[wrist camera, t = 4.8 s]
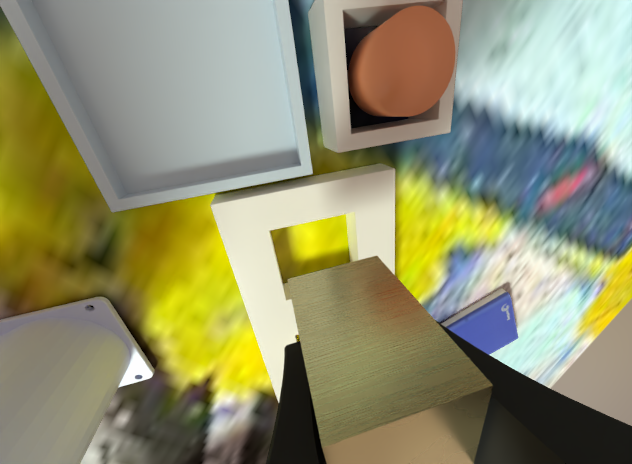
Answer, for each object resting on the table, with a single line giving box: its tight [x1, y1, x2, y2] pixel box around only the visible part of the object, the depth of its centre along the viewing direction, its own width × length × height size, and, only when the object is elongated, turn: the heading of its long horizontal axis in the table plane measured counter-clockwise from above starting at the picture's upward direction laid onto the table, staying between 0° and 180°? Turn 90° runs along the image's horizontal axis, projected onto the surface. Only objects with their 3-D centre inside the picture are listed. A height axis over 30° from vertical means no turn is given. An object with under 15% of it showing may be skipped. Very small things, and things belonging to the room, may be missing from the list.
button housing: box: [308, 0, 463, 153], centre depth 13 cm, size 7×7×3 cm
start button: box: [348, 6, 456, 117], centre depth 12 cm, size 4×4×3 cm
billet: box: [287, 255, 493, 464], centre depth 9 cm, size 4×4×6 cm
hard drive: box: [441, 288, 518, 355], centre depth 27 cm, size 2×8×12 cm
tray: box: [0, 0, 313, 212], centre depth 12 cm, size 11×11×2 cm
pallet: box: [210, 163, 395, 402], centre depth 20 cm, size 11×19×2 cm, turn 8°
